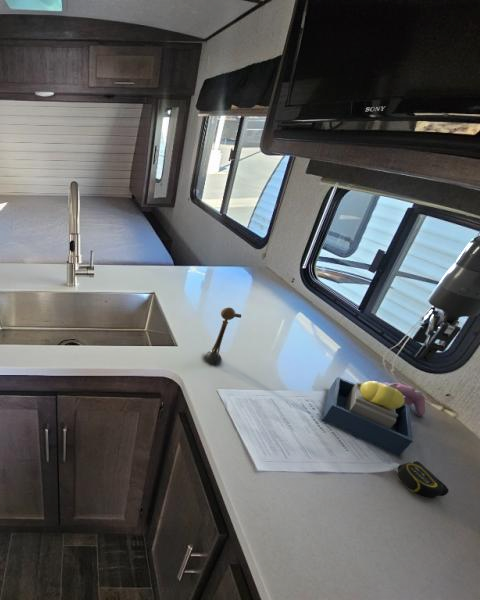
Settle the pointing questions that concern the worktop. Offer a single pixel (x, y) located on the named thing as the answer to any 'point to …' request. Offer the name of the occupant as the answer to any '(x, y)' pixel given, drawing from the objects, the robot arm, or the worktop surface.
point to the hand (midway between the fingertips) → (419, 350)
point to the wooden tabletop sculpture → (220, 337)
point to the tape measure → (421, 480)
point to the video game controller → (410, 396)
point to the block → (369, 408)
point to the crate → (367, 421)
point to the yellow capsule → (382, 394)
